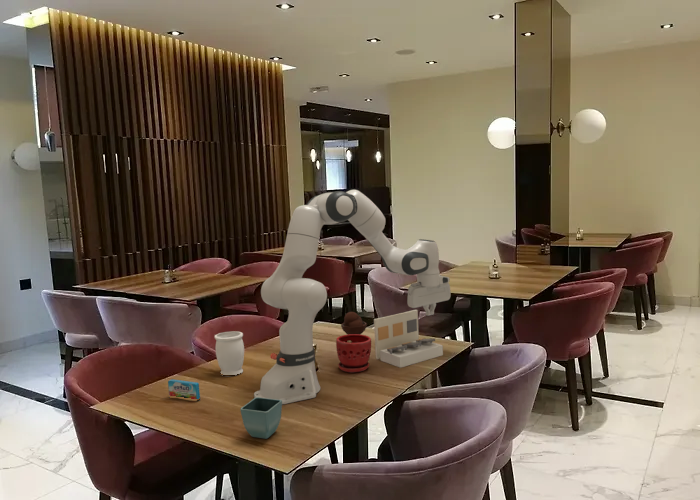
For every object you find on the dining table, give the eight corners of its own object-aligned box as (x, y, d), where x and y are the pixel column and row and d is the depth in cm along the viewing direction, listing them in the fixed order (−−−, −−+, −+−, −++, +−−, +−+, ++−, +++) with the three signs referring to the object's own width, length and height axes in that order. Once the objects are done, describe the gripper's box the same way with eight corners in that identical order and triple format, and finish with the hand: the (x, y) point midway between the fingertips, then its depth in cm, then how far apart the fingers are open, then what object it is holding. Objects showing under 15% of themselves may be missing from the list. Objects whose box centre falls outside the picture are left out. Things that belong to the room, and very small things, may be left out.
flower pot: (269, 443, 151) (267, 411, 150) (241, 439, 155) (239, 408, 153) (284, 429, 159) (282, 399, 158) (258, 426, 163) (255, 396, 162)
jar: (212, 376, 209) (209, 337, 207) (226, 367, 218) (223, 330, 217) (237, 378, 205) (234, 338, 204) (250, 369, 215) (247, 331, 213)
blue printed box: (169, 398, 189) (167, 380, 189) (172, 396, 191) (170, 379, 190) (197, 402, 184) (195, 384, 183) (200, 400, 186) (198, 382, 185)
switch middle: (413, 346, 214) (413, 344, 214) (402, 346, 220) (401, 343, 220) (421, 344, 217) (420, 342, 217) (409, 344, 222) (409, 341, 222)
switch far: (427, 342, 219) (427, 340, 219) (416, 342, 224) (415, 340, 224) (435, 340, 221) (434, 338, 221) (423, 340, 227) (423, 338, 227)
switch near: (398, 349, 210) (398, 347, 210) (387, 351, 216) (386, 348, 216) (406, 347, 212) (406, 345, 212) (395, 348, 218) (394, 346, 218)
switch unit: (400, 367, 208) (398, 325, 206) (375, 358, 220) (373, 319, 218) (442, 355, 220) (441, 315, 218) (417, 347, 232) (415, 309, 231)
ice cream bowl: (368, 348, 235) (366, 313, 233) (341, 349, 235) (339, 314, 233) (367, 341, 245) (366, 308, 243) (342, 342, 245) (340, 309, 244)
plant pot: (351, 377, 200) (349, 344, 199) (330, 368, 211) (329, 338, 209) (379, 368, 208) (378, 337, 206) (358, 361, 218) (356, 331, 217)
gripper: (413, 285, 209) (415, 321, 211) (452, 277, 221) (453, 311, 222) (402, 283, 214) (404, 318, 216) (441, 275, 226) (442, 309, 227)
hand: (429, 314), depth 219 cm, fingers closed
